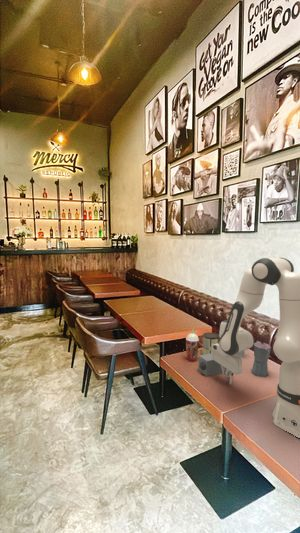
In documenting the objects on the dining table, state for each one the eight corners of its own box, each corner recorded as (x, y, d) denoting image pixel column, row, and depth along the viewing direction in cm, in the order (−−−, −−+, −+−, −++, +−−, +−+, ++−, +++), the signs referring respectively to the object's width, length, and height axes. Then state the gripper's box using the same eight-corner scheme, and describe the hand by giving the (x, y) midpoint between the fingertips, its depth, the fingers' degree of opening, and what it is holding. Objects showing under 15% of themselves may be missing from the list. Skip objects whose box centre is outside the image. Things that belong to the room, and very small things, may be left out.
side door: (232, 371, 160) (232, 358, 159) (233, 390, 140) (233, 375, 139) (228, 371, 161) (229, 357, 160) (229, 389, 140) (230, 374, 140)
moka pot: (259, 380, 152) (261, 345, 150) (244, 367, 167) (246, 335, 165) (274, 378, 154) (277, 344, 152) (258, 366, 169) (260, 334, 167)
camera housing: (228, 371, 161) (229, 355, 160) (204, 376, 154) (205, 360, 153) (220, 365, 168) (220, 350, 168) (196, 370, 161) (197, 354, 160)
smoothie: (198, 363, 172) (199, 331, 170) (184, 361, 173) (185, 330, 171) (198, 357, 180) (199, 327, 178) (185, 356, 181) (186, 326, 179)
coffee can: (207, 351, 191) (208, 331, 189) (220, 355, 184) (221, 335, 182) (199, 355, 183) (199, 334, 182) (212, 360, 176) (213, 338, 175)
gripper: (246, 356, 137) (244, 382, 138) (219, 342, 155) (218, 365, 157) (236, 358, 134) (234, 385, 136) (210, 343, 153) (209, 367, 154)
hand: (225, 374), depth 146 cm, fingers closed
